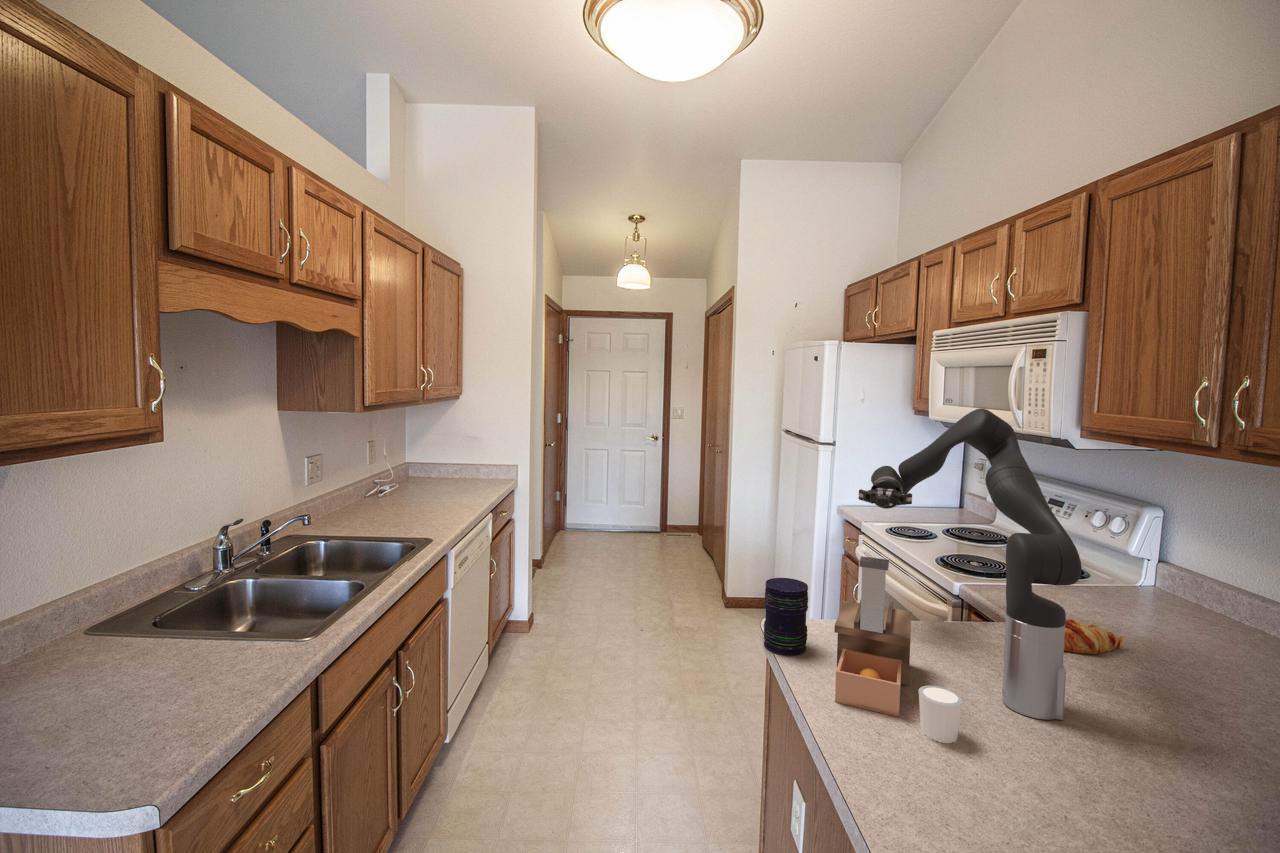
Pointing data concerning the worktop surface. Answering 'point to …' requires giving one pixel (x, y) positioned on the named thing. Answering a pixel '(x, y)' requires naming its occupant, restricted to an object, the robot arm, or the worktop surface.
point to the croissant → (1089, 638)
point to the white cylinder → (940, 713)
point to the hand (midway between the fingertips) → (882, 502)
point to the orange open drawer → (869, 682)
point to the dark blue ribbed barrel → (785, 616)
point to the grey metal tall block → (873, 593)
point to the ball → (870, 673)
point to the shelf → (876, 635)
